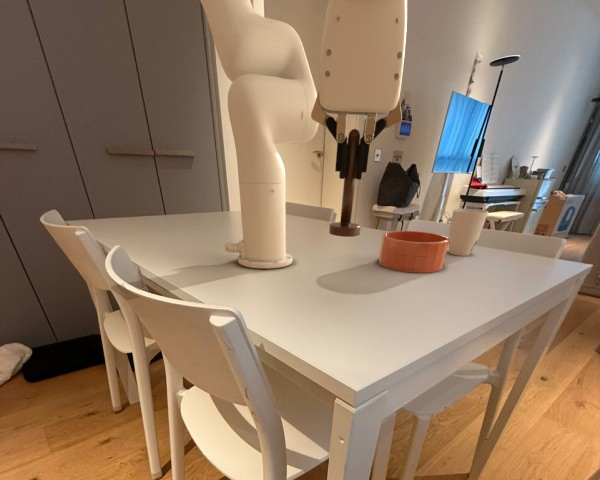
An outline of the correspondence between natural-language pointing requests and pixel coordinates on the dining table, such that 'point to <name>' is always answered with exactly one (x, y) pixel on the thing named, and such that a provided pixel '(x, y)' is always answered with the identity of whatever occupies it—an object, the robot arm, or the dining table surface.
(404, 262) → the bowl
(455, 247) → the cup
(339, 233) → the brown peg stand
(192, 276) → the dining table surface
